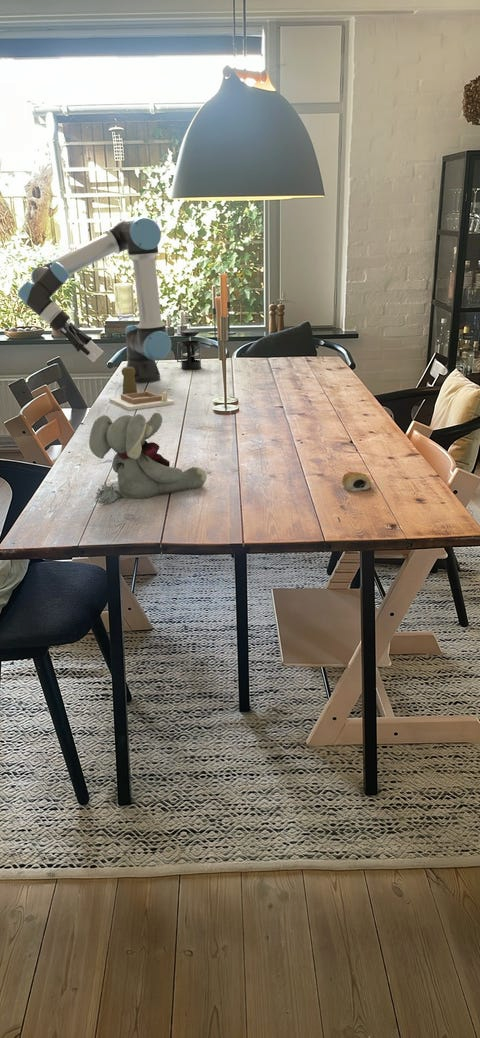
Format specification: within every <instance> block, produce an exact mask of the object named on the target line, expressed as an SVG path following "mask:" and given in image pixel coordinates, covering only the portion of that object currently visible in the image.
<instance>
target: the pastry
mask: <svg viewBox="0 0 480 1038" xmlns="http://www.w3.org/2000/svg"><path fill="white" fill-rule="evenodd" d="M342 485H343V487H344V489H345V490H346V491H348V492H359V491H367V490H369V489H370V488H371V487H372V482H371V479H370V478H369V476H367V474H365V473H362V472H359V471H355V472H353V471H349V472H346V473H344V474H343V477H342Z"/></svg>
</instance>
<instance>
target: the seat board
mask: <svg viewBox="0 0 480 1038" xmlns="http://www.w3.org/2000/svg"><path fill="white" fill-rule="evenodd" d="M108 399H109V403H111V404H114V405H116V406H118V407H121V408H123V409H125V410H127V411H133V410H141V409H148V408H154V407H155V408H156V407H163V406H169V405H175V400H173V399H170V398H168V391H162V393H161V395H160V394H157V393H154V392H152V391H149V390H147V391H146V390H145V391H140V392H138V391H137V393H130V394H123V393H122V394H120V396H119V397H112V398H108Z"/></svg>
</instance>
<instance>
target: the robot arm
mask: <svg viewBox="0 0 480 1038" xmlns="http://www.w3.org/2000/svg"><path fill="white" fill-rule="evenodd" d="M161 238H162V234H161V229H160V226H159V225H158V223H157V221H155V220H153V219H152V218H150V217H148V216H147V217H146V216H134V217H133V216H131V217H127V218H125V219H123V220H121V221H120V222H118V223H116V224H114V225H113V226H111V227H109V228H108V229H106V230H105V231H104V233H103V234H102V235H100V236H99V237H96V238H95V239H93V240H91V241H89V242H87V243H84V244H83V245H80V246H79V247H77V248H75V249H73V250H71V251H69V252H67V253H65V254H63V255H62V256H59V257H57V258H55V259H54V260H52V261H50V262H48V263H45V265H42V266H38V267H35V268H34V269H33V270H32V271H31V274H30V278H31V280H28V281H26V282H25V283H24V284H23V285H22V286H21V287H20V289H19V290H18V292H17V296H18V297H19V299H20V300H22V302H23V303H24V304H25V305H26V306H27V307H28V308H29V309H31V311H33V312H34V313H35V314H36V315H37V316H39V317H40V318H41V319H40V320H41V322H43V321H45V322H44V323H46V324H49V326H50V328H52V329H53V330H54V331H55V332H58V331H59V332H60V333H61V334H62V335H63V336H64V337H65V338H66V339H67V340H68V341H69V342H70V344H71V345H72V346H73V347H74V348H75V349H76V352H78V353H79V352H81V353H82V354H83V355H84V356H85V357H86V358H88V359H89V360H90V361H91V362H92V363H95V361H97V360H98V358H99V357H100V356H102V354H103V353H104V350H102V349H101V348H100V347H99V345H97V344H96V343H95V342H94V341H93V340H92V339H93V337H91V336H89V335H88V334H86V333H85V332H84V331H82V330H81V329H80V328H79V327H77V326H75V325H74V324H73V322H68V321H69V320H70V316H69V315H68V314H67V313H66V312H65V311H64V310H61V309H62V308H61V306H59V305H58V304H57V303H56V302H54V301H53V300H52V299H51V297H53V296H54V294H55V293H56V292H57V291H58V290H59V289H60V288H61V287H62V286H63V285H64V284H66V282H67V280H68V279H69V277H70V276H71V275H74V274H75V273H77V272H79V271H81V270H84V269H85V268H87V267H89V266H91V265H92V264H94V263H97V262H99V261H101V260H103V259H104V258H106V257H107V256H110V255H112V254H119V253H122V252H124V251H127V254H128V257H130V258H131V259H132V262H133V272H134V281H135V290H136V291H135V292H136V299H137V308H138V317H139V323H138V324H134V325H133V324H132V325H127V326H126V327H125V333H124V334H125V343H126V345H125V347H126V356H127V357H126V359H127V364H126V367H133V368H134V369H135V375H134V377H135V382H136V384H138V383H139V384H141V383H152V382H156V381H159V380H161V374H160V370H159V368H158V365H157V363H156V361H159V360H160V361H161V360H163V359H165V358H166V357H167V356H168V354H170V352H171V349H172V340H171V338H170V335H169V334H168V333H167V327H166V323H165V322H164V321H163V320H162V315H161V307H160V297H159V287H158V285H159V284H158V275H157V265H156V257H157V255H159V246H158V245H159V243H160V241H161Z"/></svg>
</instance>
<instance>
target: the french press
mask: <svg viewBox="0 0 480 1038" xmlns="http://www.w3.org/2000/svg"><path fill="white" fill-rule="evenodd" d="M184 319H187V320H188V327H189V329H183V330H180V331H179V333H180V336H181V337H182V338H189V340H183V341H179V342H178V341H177V342H176V345H175V346H176V362H177V363H180V364H181V367H180V369H181V370H183V371H184V370H185V371H198V370H201V369H202V357H201V356H202V355H201V354H202V353H201V341H199V340H191V339H192V338H194V337H196V336H197V335H199V333H200V330H198V329H191V319H195V317H193V316H186V317H184ZM178 344H180V360H179V346H178ZM183 347H186V353H183ZM195 347H199V350H198V351H199V352H198V353H197V352H195ZM196 357H199V359H196ZM183 358H187V359H183Z"/></svg>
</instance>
